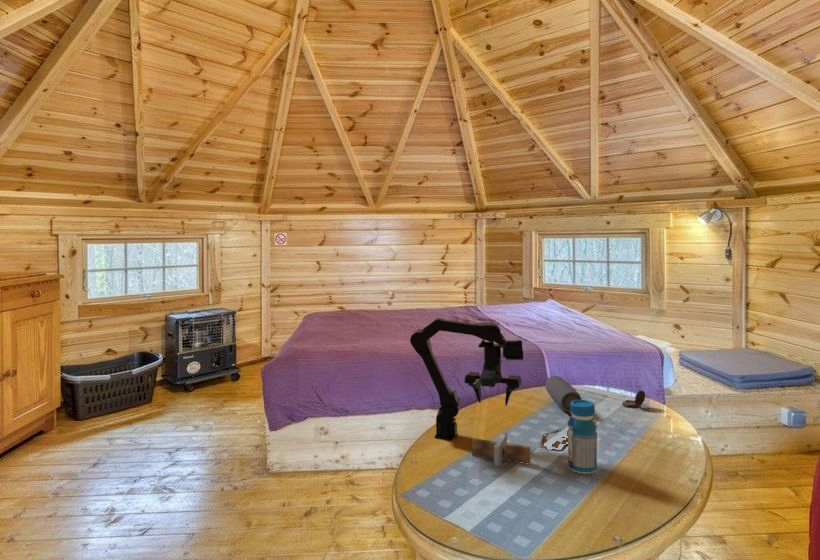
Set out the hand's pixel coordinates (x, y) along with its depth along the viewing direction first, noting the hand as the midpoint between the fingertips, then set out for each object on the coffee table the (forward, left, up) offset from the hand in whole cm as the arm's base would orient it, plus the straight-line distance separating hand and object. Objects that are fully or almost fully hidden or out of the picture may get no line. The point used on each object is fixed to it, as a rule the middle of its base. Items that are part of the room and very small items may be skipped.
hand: (493, 404), depth 166 cm
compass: (+45, +49, -12) cm, 68 cm away
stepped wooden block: (+6, -15, -12) cm, 20 cm away
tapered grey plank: (+6, -15, -12) cm, 20 cm away
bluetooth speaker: (+19, +41, -12) cm, 47 cm away
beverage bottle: (+30, -13, -12) cm, 35 cm away
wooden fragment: (+22, +8, -12) cm, 27 cm away
